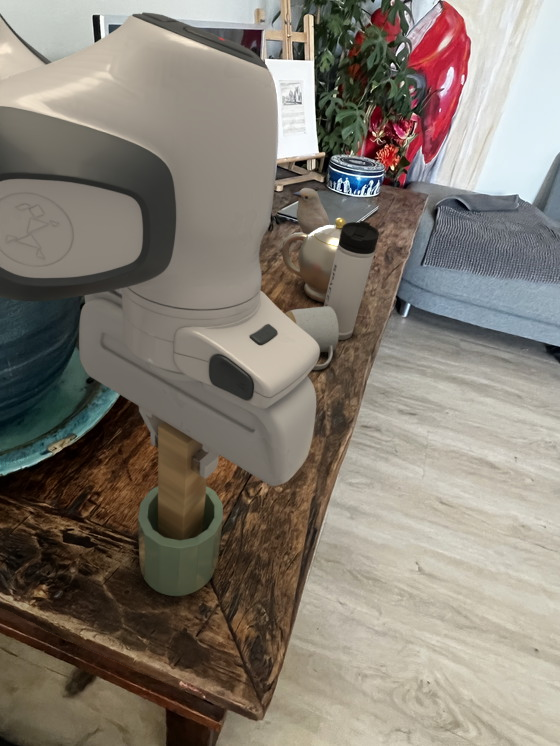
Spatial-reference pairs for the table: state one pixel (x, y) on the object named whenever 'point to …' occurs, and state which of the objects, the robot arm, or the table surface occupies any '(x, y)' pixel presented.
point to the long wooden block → (179, 485)
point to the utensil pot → (178, 549)
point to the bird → (310, 211)
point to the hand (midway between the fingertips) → (184, 457)
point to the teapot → (315, 258)
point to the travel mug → (350, 273)
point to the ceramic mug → (318, 328)
